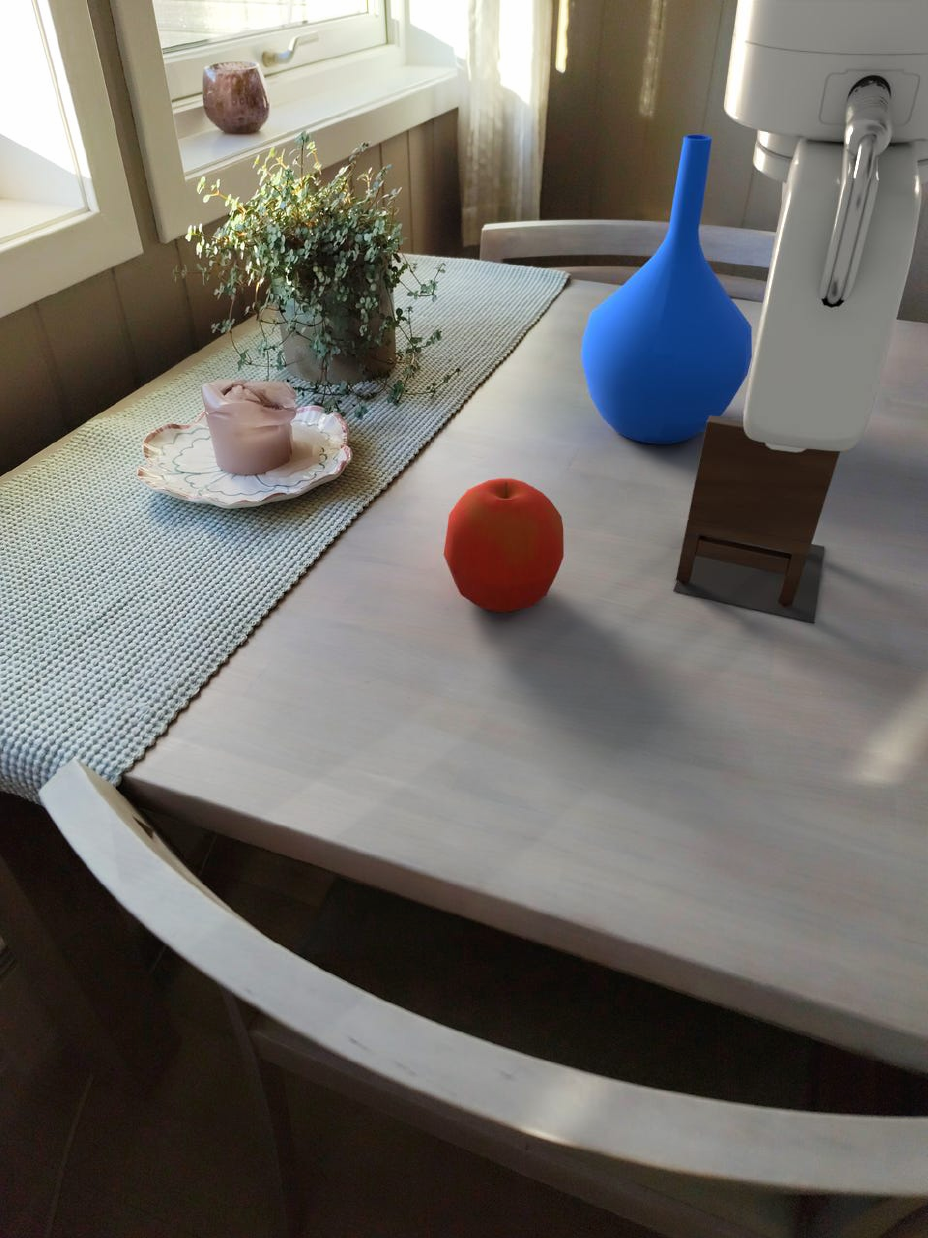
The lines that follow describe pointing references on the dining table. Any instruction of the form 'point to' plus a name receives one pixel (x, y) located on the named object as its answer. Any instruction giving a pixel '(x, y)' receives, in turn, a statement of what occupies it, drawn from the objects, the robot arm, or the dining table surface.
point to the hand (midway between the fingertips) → (786, 434)
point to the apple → (504, 545)
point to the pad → (755, 585)
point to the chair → (755, 504)
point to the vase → (669, 330)
